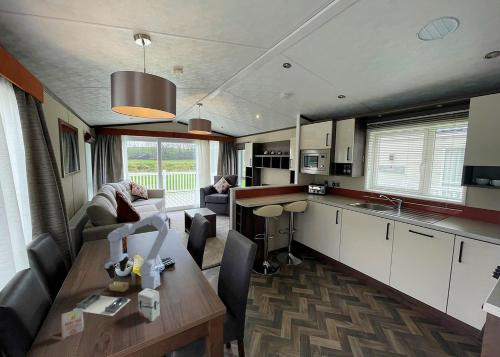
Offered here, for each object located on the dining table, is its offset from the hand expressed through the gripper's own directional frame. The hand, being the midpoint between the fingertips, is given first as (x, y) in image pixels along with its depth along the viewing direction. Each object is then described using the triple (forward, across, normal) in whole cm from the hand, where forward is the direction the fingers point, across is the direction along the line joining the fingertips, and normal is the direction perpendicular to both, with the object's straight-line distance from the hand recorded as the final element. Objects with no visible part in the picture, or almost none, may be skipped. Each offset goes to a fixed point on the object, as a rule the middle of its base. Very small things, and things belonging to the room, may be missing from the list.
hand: (117, 274), depth 121 cm
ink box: (+9, +16, +31) cm, 36 cm away
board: (+9, +14, +4) cm, 17 cm away
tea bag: (+9, +31, +6) cm, 33 cm away
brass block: (+9, +1, +2) cm, 9 cm away
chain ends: (+8, +14, +4) cm, 17 cm away
